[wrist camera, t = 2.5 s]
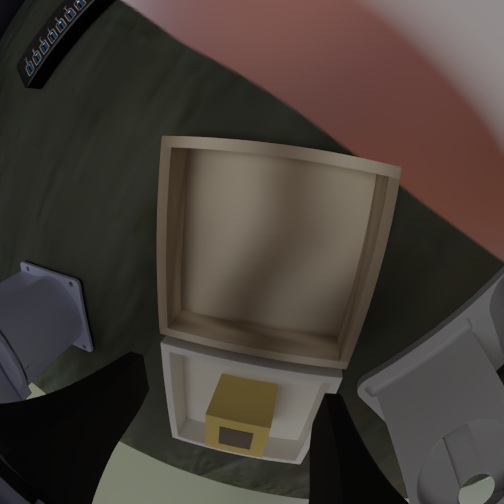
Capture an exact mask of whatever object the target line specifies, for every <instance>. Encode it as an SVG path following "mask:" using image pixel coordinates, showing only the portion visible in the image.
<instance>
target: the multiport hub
mask: <svg viewBox="0 0 504 504" xmlns="http://www.w3.org/2000/svg"><path fill="white" fill-rule="evenodd" d="M114 1H115V0H64V1H63V2H62V3H61V4H60V5H59V6H58V7H57V9H56V10H55V11H54V12H53V14H52V15H51V16H50V17H49V19H48V20H47V21H46V22H45V24H44V25H43V26H42V28H41V29H40V30H39V32H38V33H37V34H36V36H35V37H34V39H33V40H32V42H31V43H30V45H29V46H28V47H27V49H26V51H25V52H24V54H23V55H22V57H21V58H20V60H19V62H18V64H17V69H18V72H19V74H20V77H21V79H22V81H23V84H24V86H25V88H35V89H41V88H42V87H43V86H44V84H45V83H46V81H47V80H48V79H49V77H50V76H51V74H52V73H53V71H54V70H55V69H56V67H57V66H58V64H59V63H60V62H61V60H62V59H63V58H64V56H65V55H66V54H67V53H68V51H69V50H70V49H71V48H72V46H73V45H74V44H75V43H76V41H77V40H78V39H79V38H80V37H81V36H82V34H83V33H84V32H85V31H86V30H87V29H88V28H89V26H90V25H91V24H92V23H93V22H94V21H95V20H96V19H97V18H98V17H99V16H100V15H101V14H102V13H103V12H104V11H105V10H106V9H107V8H108V7H109V6H110V5H111V4H112V3H113V2H114Z"/></svg>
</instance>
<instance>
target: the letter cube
mask: <svg viewBox="0 0 504 504" xmlns="http://www.w3.org/2000/svg"><path fill="white" fill-rule="evenodd" d="M277 388H278V384H273V383H267V382H262V381H256V380H251V379H246V378H241V377H236V376H232V375H227V374H223V373H222V374H221V376H220V379H219V381H218V384H217V387H216V389H215V392H214V394H213V396H212V399H211V401H210V404H209V406H208V409H207V411H206V414H205V445H206V446H210V447H214V448H218V449H222V450H226V451H231V452H235V453H240V454H245V455H250V456H256V457H262V455H263V452H264V449H265V446H266V443H267V439H268V436H269V433H270V430H271V425H272V419H273V413H274V407H275V401H276V395H277Z"/></svg>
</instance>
